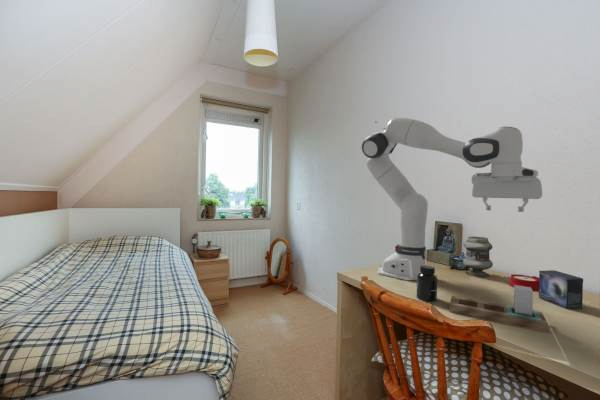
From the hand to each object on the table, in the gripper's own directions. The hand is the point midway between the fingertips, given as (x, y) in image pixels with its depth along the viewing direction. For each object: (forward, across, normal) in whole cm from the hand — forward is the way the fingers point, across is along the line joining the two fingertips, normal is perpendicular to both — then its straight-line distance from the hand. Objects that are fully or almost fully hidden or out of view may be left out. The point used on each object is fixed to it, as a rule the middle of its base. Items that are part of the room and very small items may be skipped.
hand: (504, 211), depth 100 cm
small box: (+32, +18, +10) cm, 38 cm away
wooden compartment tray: (+33, -2, -18) cm, 38 cm away
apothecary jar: (+32, -8, +36) cm, 49 cm away
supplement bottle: (+33, -22, -14) cm, 43 cm away
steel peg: (+32, +5, -18) cm, 37 cm away
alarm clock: (+32, +11, +26) cm, 43 cm away
